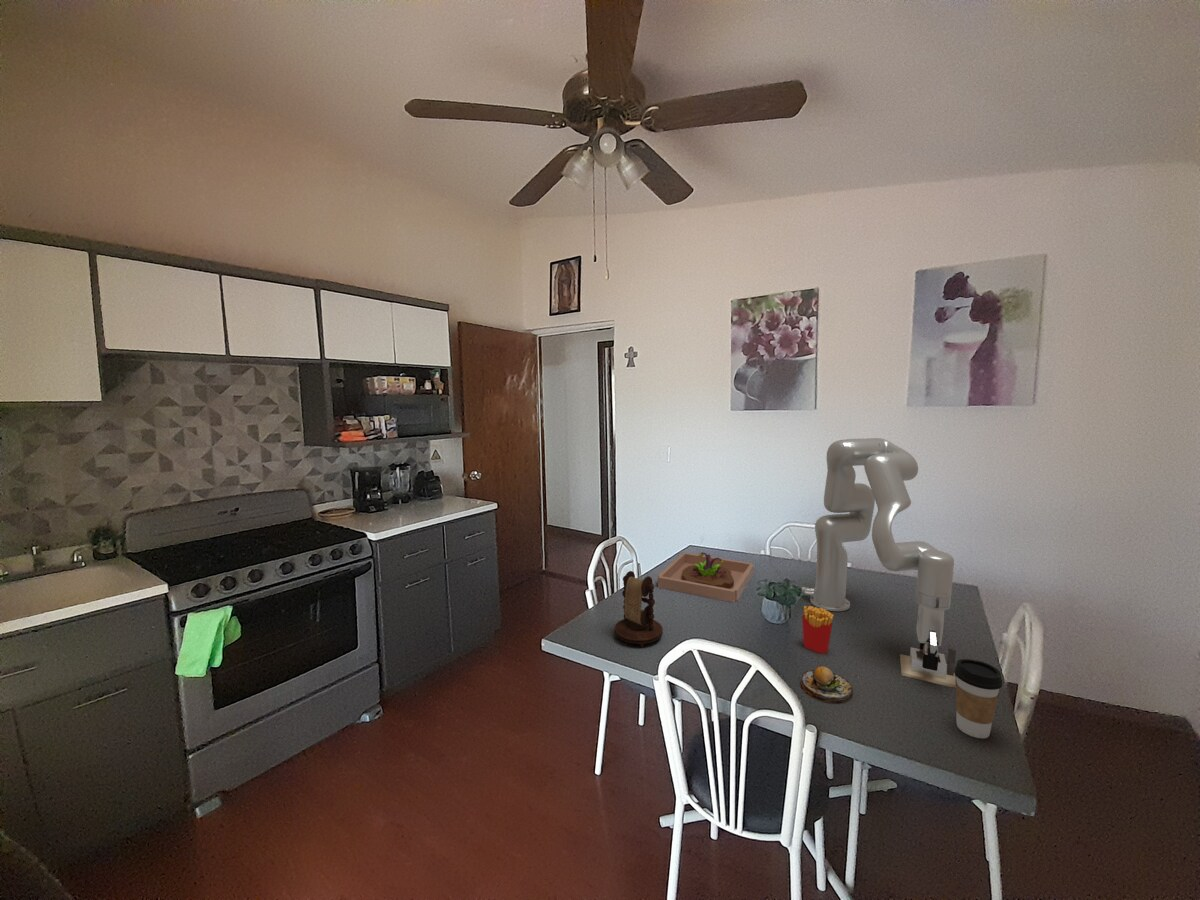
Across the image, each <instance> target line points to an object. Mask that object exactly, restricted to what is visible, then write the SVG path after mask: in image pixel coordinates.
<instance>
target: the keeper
mask: <svg viewBox="0 0 1200 900" xmlns="http://www.w3.org/2000/svg"><path fill="white" fill-rule="evenodd" d="M928 648H930V646H929V645H928ZM956 649H957V648H956V647H955V646H950V645H949V646H948V652H947V661H946V664H947V672H946V679H943V678H939V677H935V676H930V675H926V674H921V673H917V672H913V671H911V666H910V655H907V654H902V653H901V654H900V653H899V659H900V671H901V672H900V673H901V674H900V675H901V676H903V677H906V678H911V679H916V680H920V681H925V682H928V683H931V684H935V685H941V686H945V687H949V688H955V689H956V686H955V681H956V675H955V673H954V671H955V667H956V665H955V664H956V656H957V650H956ZM923 652H924V653H925V645H924V647H923Z"/></svg>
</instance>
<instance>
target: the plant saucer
mask: <svg viewBox="0 0 1200 900" xmlns="http://www.w3.org/2000/svg"><path fill="white" fill-rule="evenodd" d="M714 558H717V557H716V556H711V557H710V561H712V560H713V559H714ZM719 558H720V559H722V560H723V563H722V564H721V563H720V560H719V559H716V560H715V561H714V562H713V566H715V565H717V564H720V566H719V567H724V568H726V569H728V570H729V571H731V575H732V577H733V579H734V586H733V587H732V588H722V587H716V586H711V585H706V584H700V583H695V582H690V581H684V580H682V571H683V570H684V569H685V568H687V567H688V566H692V565H695V564H700V562H702V563H703V564H704V562H705V561H706V556H705V554H703V556H702V557H699V553H698V554H697V553H690V552H684V553H683V552H682V553H680V554H679V555H678V557H676V558H675V559H674V560H673V561H671V563H670V564H668V565H667V567H665V568H663V570H662V571H661V572H660V573H659V574H658V575H657V588H659V589H660V588H661V589H663V590H664V589H665V590H669V591H675V592H680V593H684V594H688V595H694V596H699V597H704V598H709V599H713V600H714V599H715V600H719V601H725V602H729V603H735V602H738V601H739V599H740V597H741V596H742V594H743V592H744V591H745V589H746V588H747V586H748V585H749V583H750V581H751V579H752V578H753V576H754V574H755V573H754V572H755V571H754V569H755V565H754V563H753V562H747V561H740V560H734V559H728V558H724V557H723V558H722V557H719Z"/></svg>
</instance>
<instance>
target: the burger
mask: <svg viewBox="0 0 1200 900" xmlns="http://www.w3.org/2000/svg"><path fill="white" fill-rule="evenodd" d="M800 685H801V687H802V690H803V691H804V693H807V694H808V695H809V696H810V697H811V698H813V699H814V700H815V699H816V700H818V701H821V702H824V703H828V704H844V703H845V704H846V703H847V702H849V701H850V700H852V698H853V693H854V692H853V691H854V690H853V686H852V685H851V683H850V682H849V681H848V680H847V679H846V678H844V677H843V676H841V675H840V674H837V673H834V672H832V670H831V669H830V668H828V667H826V666H823V665H822V666H821V665H819V667H817V668H815V669H811V670H808V671H804V672H803V674H801V680H800Z"/></svg>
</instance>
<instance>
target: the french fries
mask: <svg viewBox="0 0 1200 900" xmlns="http://www.w3.org/2000/svg"><path fill="white" fill-rule="evenodd" d="M801 619H802V620H801V622H802V637H803V638H802V639H803V646H804V648H806V649H808V650H810V651H813V652H815V653H817V654H827V653H828V652H829V649H830V647H829V646H830V642H831V637H832V636H831V635H832V630H833V619H834V614H833V613H831V612H830V611H829V610H826V609H823V608H819V607H816V606H814V605H813V606H811V605H809V606H807V605H804V606H803V615H802V616H801Z"/></svg>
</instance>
